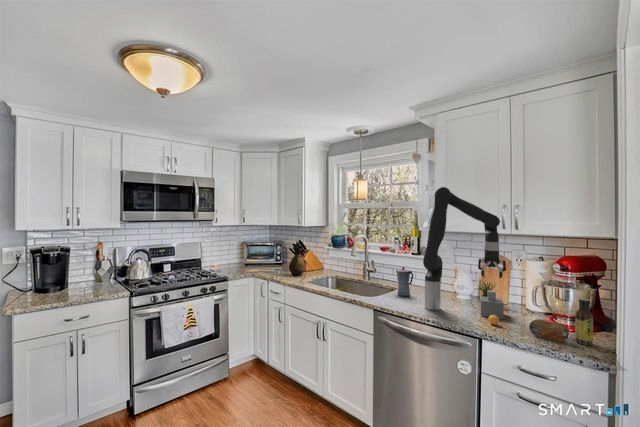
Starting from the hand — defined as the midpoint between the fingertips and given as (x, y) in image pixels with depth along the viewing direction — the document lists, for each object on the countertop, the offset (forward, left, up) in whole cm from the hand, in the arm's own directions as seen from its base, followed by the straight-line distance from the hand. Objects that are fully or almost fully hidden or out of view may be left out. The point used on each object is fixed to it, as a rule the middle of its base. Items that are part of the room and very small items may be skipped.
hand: (491, 277), depth 184 cm
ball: (+15, -9, -19) cm, 26 cm away
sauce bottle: (+42, +17, -22) cm, 50 cm away
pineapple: (-124, -112, -22) cm, 168 cm away
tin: (+36, +5, -22) cm, 42 cm away
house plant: (-19, +11, -22) cm, 31 cm away
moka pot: (-47, -35, -22) cm, 63 cm away
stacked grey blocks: (0, 0, -22) cm, 22 cm away
